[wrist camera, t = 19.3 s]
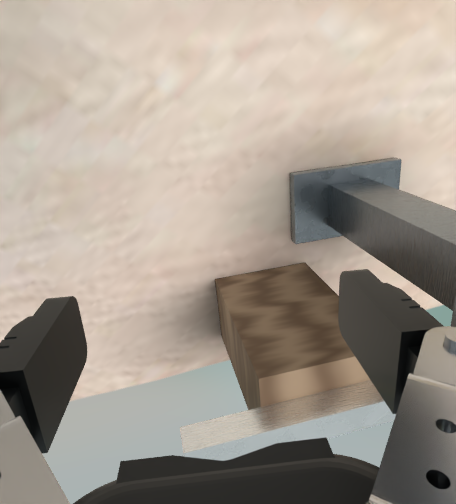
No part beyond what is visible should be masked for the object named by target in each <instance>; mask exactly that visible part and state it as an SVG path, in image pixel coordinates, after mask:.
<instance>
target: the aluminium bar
mask: <svg viewBox="0 0 456 504" xmlns="http://www.w3.org/2000/svg"><path fill="white" fill-rule="evenodd" d="M395 416H396V414H392V412H391V410H390V409H389V407H388V406H387V404H386V403H385V401H384V400H383V398H382V397H381V395H380V394H379V392H378V391H377V389H376V387H375V386H374V384H373V383H372V381H371V380H368V381H364V382H360V383H356V384H352V385H348V386H344V387H340V388H336V389H332V390H328V391H324V392H320V393H316V394H312V395H308V396H304V397H300V398H296V399H291V400H287V401H283V402H279V403H275V404H271V405H267V406H263V407H259V408H255V409H251V410H247V411H243V412H240V413H235V414H232V415H227V416H223V417H219V418H215V419H211V420H207V421H203V422H199V423H195V424H191V425H187V426H183V427H180V432H181V439H182V446H183V453H184V457H192V458H201V459H211V460H221V461H225V460H230V459H233V458H236V457H239V456H242V455H245V454H248V453H250V452H253V451H256V450H259V449H262V448H265V447H267V446H270V445H273V444H276V443H282V442H291V441H299V440H308V439H316V438H325V437H326V438H327V439H328V438H333V437H336V436H340V435H344V434H347V433H351V432H355V431H358V430H362V429H366V428H370V427H373V426H377V425H381V424H384V423H388V422H392V421H394V419H395Z"/></svg>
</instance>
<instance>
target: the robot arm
mask: <svg viewBox="0 0 456 504" xmlns="http://www.w3.org/2000/svg"><path fill="white" fill-rule="evenodd" d="M338 322H339V328H340V332H341V335H342V337H343V339H344V340H345V342H346V343H347V345H348V346H349V348H350V349H351V351H352V352H353V354H354V355H355V357H356V358H357V360H358V361H359V363H360V365H361V366H362V368H363V369H364V371H365V372H366V374H367V375H368V377H369V378H370V380H371V381H372V383H373V384H374V386H375V387H376V389H377V391H378V392H379V394H380V395H381V397H382V398H383V400H384V401H385V403H386V404H387V406H388V407H389V409H390V410H391V412H392V414H396V416H395V419H394V423H393V426H392V429H391V432H390V436H389V439H388V442H387V445H386V448H385V452H384V455H383V458H382V461H381V465H380V468H379V467H377V466H374V465H372V464H370V463H367V462H365V461H362V460H359V459H356V458H352V457H347V456H343V455H337V454H333V453H332V450H331V448H330V445H329V443H328V440H327V438H326V437H325V438H316V439H308V440H299V441H291V442H282V443H276V444H273V445H270V446H267V447H265V448H262V449H259V450H256V451H253V452H250V453H248V454H245V455H242V456H239V457H236V458H233V459H230V460H225V461H221V460H211V459H201V458H192V457H182V456H173V455H172V456H163V457H155V458H146V459H138V460H129V461H121V462H120V468H119V473H118V477H117V480H115V481H113V482H110V483H108V484H105V485H103V486H101V487H99V488H97V489H95V490H93V491H92V492H90V493H88V494H86V495H85V496H83V497H82V498H81V499H79V500H78V501H76V502H75V503H73V504H456V327H444V326H443V325H442V324H441V323H439V322H438V321H437V320H436V319H435V318H434V317H433V316H431V315H430V314H429V313H428V312H427V311H426V310H424V309H423V308H420V305H419V304H418V303H416V302H415V301H414V300H412V298H411V297H410V296H408V295H407V294H406V293H405V292H404V291H403V290H401V289H399V288H397V287H394V286H392V285H390V284H388V283H382V282H381V281H380V280H379V279H378V278H377V277H376V276H375V275H373V274H372V273H371V272H370V271H369V270H367V269H365V270H354V271H344V272H342V273H341V275H340V284H339V310H338ZM86 358H87V343H86V338H85V333H84V329H83V324H82V320H81V315H80V311H79V306H78V303H77V300H76V298H75V297H73V296H70V297H60V298H49V299H46V300H45V301H44V302H43V304H42V305H41V306H40V307H39V309H38V310H37V311H36V313H35V314H34V315H33V316H31V317H27V318H26V319H24V320H23V321H21V322H20V323H18V324H17V325H15V326H14V327H13V328H12V329H11V330H10V332H9V333H8V334H7V335H6V336H5V338H4V340H2V341H1V342H0V504H70V503H69V501H68V499H67V498H66V496H65V494H64V492H63V490H62V489H61V487H60V485H59V484H58V481H57V480H56V478H55V476H54V474H53V473H52V471H51V469H50V467H49V466H48V464H47V462H46V460H45V459H44V457H43V455H42V453H47V452H48V450H49V448H50V446H51V443H52V441H53V439H54V436H55V434H56V431H57V429H58V427H59V424H60V422H61V419H62V417H63V415H64V413H65V410H66V408H67V405H68V403H69V401H70V398H71V396H72V394H73V391H74V389H75V387H76V384H77V382H78V380H79V377H80V375H81V372H82V370H83V368H84V365H85V363H86Z"/></svg>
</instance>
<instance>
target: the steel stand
mask: <svg viewBox="0 0 456 504" xmlns="http://www.w3.org/2000/svg"><path fill="white" fill-rule="evenodd" d="M400 170H401V159H398V158H390V159H383V160H376V161H369V162H362V163H355V164H349V165H342V166H335V167H328V168H321V169H314V170H307V171H300V172H293V173H290V195H291V230H292V241H293V242H294V243H295V244H299V243H304V242H310V241H316V240H321V239H327V238H333V237H338V236H344V237H346V238H347V239H349V240H350V241H352V242H353V243H354V244H356V245H357V246H359V247H360V248H362V249H363V250H365V251H366V252H368V253H369V254H371V255H372V256H373V257H375V258H376V259H378V260H379V261H381V262H382V263H384V264H385V265H387V266H388V267H390V268H391V269H392V270H394V271H395V272H397V273H398V274H400V275H401V276H403V277H404V278H406V279H407V280H409V281H410V282H411V283H413V284H414V285H416V286H417V287H419V288H420V289H422V290H423V291H425V292H426V293H428V294H429V295H430V296H432V297H433V298H435V299H436V300H438V301H439V302H441V303H442V304H444V305H445V306H447V307H448V308H449V309H451V310H452V311H453V315H452V321H451V327H456V211H455V210H453V209H450V208H447V207H444V206H442V205H439V204H436V203H434V202H431V201H428V200H425V199H423V198H420V197H417V196H414V195H412V194H409V193H406V192H404V191H401V190H399V182H400Z"/></svg>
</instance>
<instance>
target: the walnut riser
mask: <svg viewBox="0 0 456 504" xmlns="http://www.w3.org/2000/svg"><path fill="white" fill-rule="evenodd" d="M215 284H216V292H217V301H218V309H219V318H220V326H221V335H222V338H223V341H224V344H225V347H226V349H227V352H228V355H229V358H230V360H231V363H232V366H233V368H234V371H235V374H236V377H237V379H238V382H239V385H240V388H241V390H242V393H243V396H244V399H245V401H246V404H247V407H248V410H251V409H255V408H259V407H263V406H267V405H271V404H275V403H279V402H283V401H287V400H291V399H296V398H300V397H304V396H308V395H312V394H316V393H320V392H324V391H328V390H332V389H336V388H340V387H344V386H348V385H352V384H356V383H360V382H364V381H368V380H370V378H369V377H368V375H367V374H366V372H365V371H364V369H363V368H362V366H361V365H360V363H359V361H358V360H357V358H356V357H355V355H354V354H353V352H352V351H351V349H350V348H349V346H348V345H347V343H346V342H345V340H344V339H343V337H342V335H341V332H340V328H339V322H338V310H339V296H338V295H337V294H336V293H335V292H334V291H333V290H332V289H331V288H330V287H329V286H328V285H327V284H326V283H325V282H324V281H323V280H322V279H321V278H320V277H319V276H318V275H317V274H316V273H315V272H314V271H313V270H312V269H311V268H310V267H309V266H308V265H307V264H306V263H300V264H295V265H289V266H284V267H278V268H273V269H268V270H262V271H257V272H251V273H246V274H241V275H235V276H230V277H224V278H219V279H215Z"/></svg>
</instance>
